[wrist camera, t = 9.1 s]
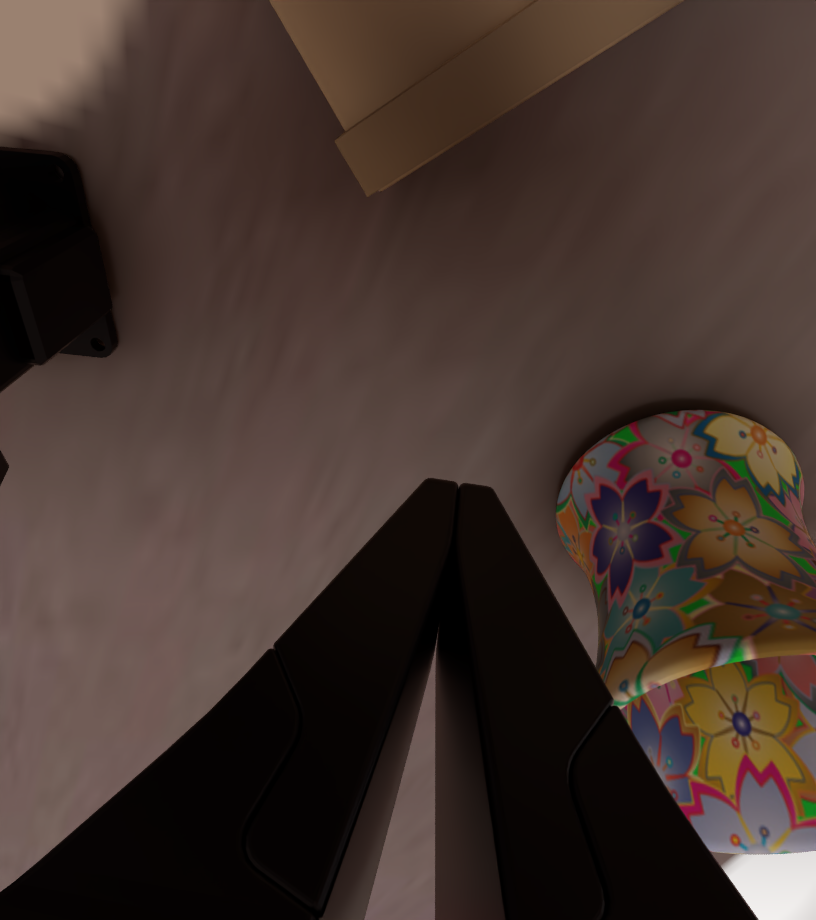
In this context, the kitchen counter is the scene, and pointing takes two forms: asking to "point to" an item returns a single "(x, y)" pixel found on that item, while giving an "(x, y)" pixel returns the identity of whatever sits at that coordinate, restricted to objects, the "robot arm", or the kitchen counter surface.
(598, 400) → the kitchen counter surface
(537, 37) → the trammel board
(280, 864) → the robot arm
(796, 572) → the mug
